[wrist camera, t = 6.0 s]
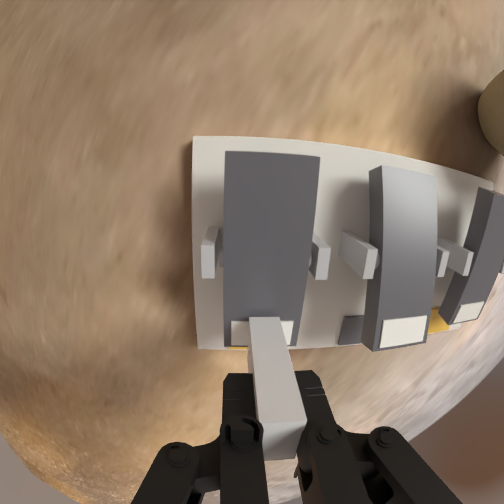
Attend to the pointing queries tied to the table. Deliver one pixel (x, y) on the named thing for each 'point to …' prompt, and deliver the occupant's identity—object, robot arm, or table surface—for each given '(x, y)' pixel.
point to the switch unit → (325, 236)
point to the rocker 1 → (266, 239)
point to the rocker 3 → (477, 260)
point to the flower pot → (493, 112)
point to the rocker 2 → (400, 258)
